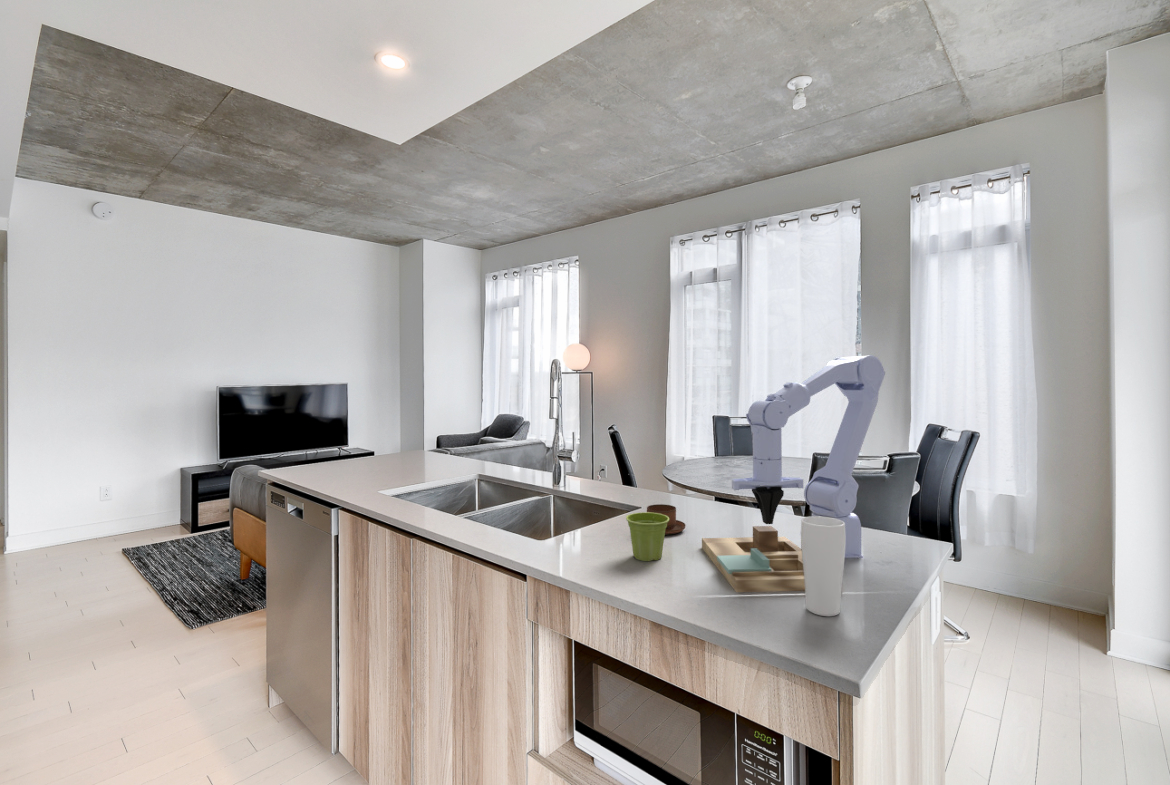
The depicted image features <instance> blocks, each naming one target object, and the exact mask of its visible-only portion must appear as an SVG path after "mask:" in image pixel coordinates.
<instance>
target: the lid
mask: <svg viewBox="0 0 1170 785" xmlns="http://www.w3.org/2000/svg"><path fill="white" fill-rule="evenodd" d="M717 560H718V561H719V563H720V564H721V565H722V566H723V568H724V569H725V570H726V571H727V572H728V574H732V572H753V571H771V568H770V567H769V559H768V558H767V557H766V556H765V555H764V554H762V553H761V552H760V551H759V550H758V549H757V548H751V555H727V556H717Z"/></svg>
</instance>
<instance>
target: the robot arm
mask: <svg viewBox="0 0 1170 785" xmlns="http://www.w3.org/2000/svg"><path fill="white" fill-rule="evenodd" d="M885 375H886V371H885V368H884V366H883V364H882V362H881V360H880V359H879V358H878V357H877V356H876V355H872V354H870V355H868V354H867V355H860V356H837V357H835V358H833V360H829V361H828V362H826V365H825V366H823V367H822V368H821V369H819V370H818V371H817V372H815V373H813V374H812V375H811V376H810V377H808V378H807V379H806V380H804V381H803V382H801V383H799V382H796V381H795V382H787V381H786V383H784V384H783V388H782V389H779V390H778V391H776V392H775V393H769V394H768V395H767V396H766V399H765V400H757V401H754V402H753V403H752V404H751V405H750V407H749V409H748V412H747V413H746V415H745V417H746V422H748V424H749V425H750V430H751V432H750V433H752V477H744V478H731V489H733V490H734V491H739V490H751V492H752V494H753V495H754V497H755V500H756V502H757V505H758V507H759V510H760V514H761V519H762V522H763V523H764V524H765V525H773V524H774V519H775V515H776V511H777V510H778V506H779V504H780V502H781V501H782V499H783V497H784V495H785V492H784V490H782V489H796V488H797V489H804V490H803V497H804V501H805V502H806V503H807V505H809V510H810V511H811V516H822V517H830V518H835V519H839V520H841V521H843V522H844V523H845V536H846V544H845V559H861V558H862V559H863V558H864V555H863V554H862V524H861V520H860V518H859V516H858V515H857V514H856V513H854V512H853V511H854V510H855V508H856V506H857V496H858V495H857V493H858V489H859V488H860V486H859V483H858V482H857V481H856V479H855V478H854V477H853V475H852V474H853V472H854V468H855V466H856V463H857V460H858V458H859V455H860V452H861V449H862V446H863V444H864V442H865V439H866V435H867V432H868V431H869V430H868V429H869V426H870V424H871V422H872V419H873V416H874V413H875V410H876V408H877V405H878V401H879V391H880V390H881V386H882V383H883V381H884V378H885ZM834 384H835V386H836V387H837V388H838V390H839V391H840V392H841V393H842V394H843V396H845V397H846V399H847V401H848V403H847V407H846V409H845V411H844V414H843V417H842V419H841V422H840V426H839V428H838V431H837V433H836V436H835V439H834V441H833V443H832V444H833V445H832V447H831V449H830V452H829V455H828V458H827V461H826V463H825V466H822V467H821V468H819V469H817V470H816V471H815V472H814V473H813V476H812V478H811V479H810V480H809V482H808V483H807V484H806V485H805V487H804V478H802V477H790V476H789V477H786V476H783V470H782V469H783V468H782V467H783V466H782V465H783V464H782V462H783V461H782V460H783V459H782V457H783V456H782V455H783V454H782V452H783V451H782V442H783V441H782V428H784V427H785V426H786V425H787V423H788V420H789V418H790V417H791V416H793V415H794V414H796V413H798V412H799V411H801V410H802V409H804V408H806V407H807V406H808V405H809V404H810V403H811V397H813V396H815V395H817V394H818V393H821V392H822V391H823V390H825V389H828V388H829V387H831V386H833V385H834Z"/></svg>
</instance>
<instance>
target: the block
mask: <svg viewBox="0 0 1170 785" xmlns="http://www.w3.org/2000/svg"><path fill="white" fill-rule="evenodd" d="M778 533H779V531H778V530H777V529H776V528H774V527H773V526H772V525H764V526H763V525H755V526H752V537H753V548H757V549H758V550H759V551H760V552H778V537H779V534H778Z"/></svg>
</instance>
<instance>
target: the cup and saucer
mask: <svg viewBox="0 0 1170 785" xmlns="http://www.w3.org/2000/svg"><path fill="white" fill-rule="evenodd" d="M646 512H651V513H659V514H663V515H666V516H668V517H669V522H667V527H666V529H665V536H669V535H674V534H679V533H680V532H683V531H684V530H685V529H686V523H685V522H683V521H681V520H678V519H677V507H676V506H674V505H670V504H665V503H664V504H662V503H661V504H659V503H657V504H651V505H648V506H646Z"/></svg>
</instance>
